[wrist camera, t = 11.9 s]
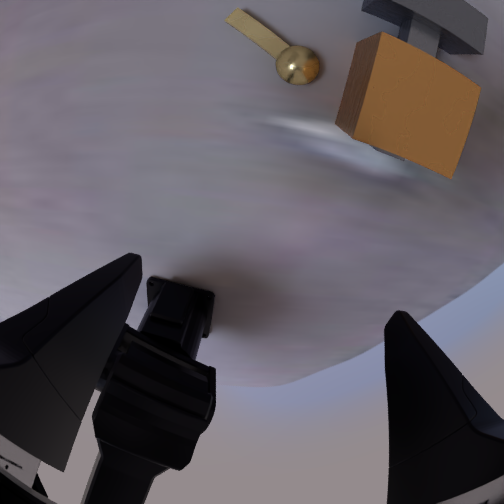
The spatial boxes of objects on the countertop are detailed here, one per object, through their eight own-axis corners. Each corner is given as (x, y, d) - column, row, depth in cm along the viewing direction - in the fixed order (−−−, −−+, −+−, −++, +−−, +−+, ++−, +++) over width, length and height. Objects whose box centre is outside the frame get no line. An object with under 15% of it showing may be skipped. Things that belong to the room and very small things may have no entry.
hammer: (418, 162, 17) (444, 182, 14) (330, 129, 17) (342, 142, 14) (456, 22, 10) (488, 18, 7) (368, -23, 10) (387, -42, 7)
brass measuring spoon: (325, 66, 15) (328, 66, 14) (297, 92, 16) (298, 93, 15) (247, 4, 13) (245, 0, 12) (220, 30, 14) (216, 28, 13)
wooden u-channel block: (417, 154, 17) (451, 179, 13) (334, 123, 17) (352, 138, 13) (440, 81, 14) (481, 87, 9) (356, 42, 13) (381, 31, 9)
